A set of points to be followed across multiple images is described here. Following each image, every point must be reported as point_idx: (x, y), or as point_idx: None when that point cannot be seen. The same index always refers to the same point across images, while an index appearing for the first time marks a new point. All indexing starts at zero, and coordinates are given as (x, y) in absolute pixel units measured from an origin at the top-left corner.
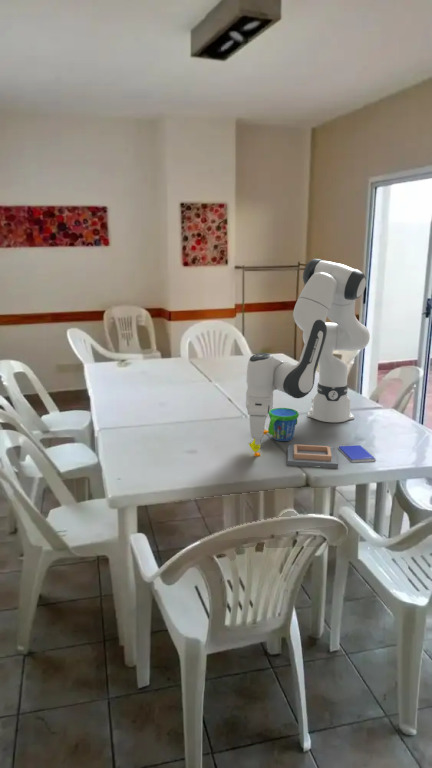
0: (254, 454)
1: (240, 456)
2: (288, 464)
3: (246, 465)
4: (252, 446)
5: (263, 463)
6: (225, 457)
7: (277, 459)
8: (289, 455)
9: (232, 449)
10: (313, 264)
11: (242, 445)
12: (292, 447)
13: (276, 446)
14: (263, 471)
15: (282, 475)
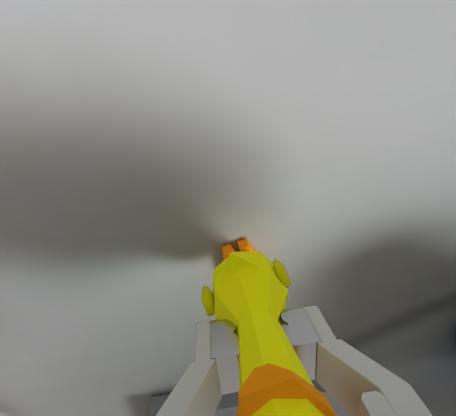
0: (239, 244)
1: (192, 162)
2: (150, 404)
3: (50, 232)
4: (221, 274)
5: (128, 308)
6: (131, 45)
7: None
8: (222, 414)
9: (319, 70)
10: None
11: (405, 132)
12: (334, 404)
13: (389, 316)
14: (14, 329)
15: (17, 402)
